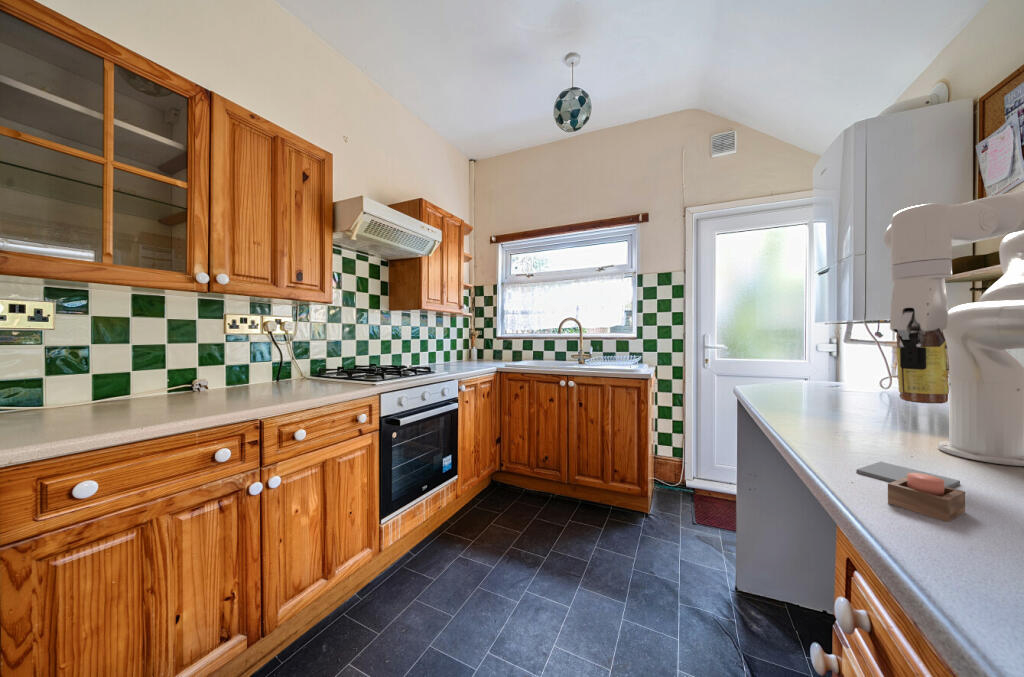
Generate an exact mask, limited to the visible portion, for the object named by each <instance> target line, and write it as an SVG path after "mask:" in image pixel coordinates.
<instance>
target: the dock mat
mask: <svg viewBox="0 0 1024 677" xmlns="http://www.w3.org/2000/svg"><path fill="white" fill-rule="evenodd" d="M855 471H856V474H860V475H862V476H868V477H872V478H875V479H878V480H882V481H886V482H888V483H891V482H894V481H896V480H899V479H901V478H904V477H907V474H908V473H921V474H927V475H931V476H935V477H938V478H941V479H943V480H944V486H945V487H949V488H953V489H954V488H955V487H957V486H959V485H961V480H960V479H956V478H951V477H946V476H943V475H938V474H935V473H930V472H926V471H923V470H922V471H921V470H918V469H913V468H910V467H907V466H906V467H905V466H901V465H897V464H893V463H888V462H884V461H878V462H874V463H872V464H869V465H866V466H862V467H860V468H857V469H856V470H855Z"/></svg>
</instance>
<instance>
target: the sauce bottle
mask: <svg viewBox="0 0 1024 677" xmlns="http://www.w3.org/2000/svg"><path fill="white" fill-rule="evenodd" d="M911 330H920V329H911ZM942 333H943V331H942V332H941V330H940V329H939V328H938V329H937V330H933V331H930V332H926V333H925V338H924V344H923V347H922V348H926V369H923V370H920V369H903V368H901V367H900V345H899V344H900V338H899V333H896V348H895V349H896V364H897V365H896V366H897V380H898V381H897V382H898V393H899V398H900V399H901V400H903V401H906V402H911V403H917V404H945V403H948V402H949V376H948V375H949V372H948V359H947V358H948V354H947V345H946V340H945V337H944V334H942ZM916 338H918V335H916Z"/></svg>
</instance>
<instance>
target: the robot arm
mask: <svg viewBox="0 0 1024 677" xmlns="http://www.w3.org/2000/svg"><path fill="white" fill-rule="evenodd" d="M883 237H884V238H883V241H884V244H885V247H886V248H887V249H888V250H889V251H890V257H891V258H890V262H891V263H890V265H891V266H890V267H891V268H890V269H891V271H890V272H891V274H890V275H891V280H890V282H891V284H893V287H892V292H891V300H890V301H891V302H890V318H889V319H890V320H889V330H890V331H891V332H893V333H896V334H897V333H899V338H900V344H899V345H900V367H901V368H903V369H920V370H923V369H926V348H922V347H923V344H924V338H925V333H926V332H930V331H933V330H937V329H938V328H939V329H940V330H941V332H942V334H943V336H944V338H945V340H946V351H947V358H948V375H949V376H948V388H949V393H948V426H949V427H948V439H949V440H944V441H943V440H942V441H939V442H938V443H937V448H938V449H939V450H940V451H942V452H944V453H947V454H950V455H953V456H956V457H960V458H965V459H969V460H972V461H973V460H974V461H979V462H984V463H990V464H998V465H1006V466H1016V467H1024V366H1023V365H1022V363H1020V361H1018V360H1017V359H1016V358H1015V357H1014V356H1013V355H1012V354H1010V352H1008V351H1007V350H1024V189H1021V190H1017V191H1011V192H1006V193H1002V194H996V195H995V194H994V195H990V196H986V197H983V198H979V199H974V200H971V201H968V202H963V203H958V204H947V203H943V202H934V203H933V202H932V203H925V204H920V205H915V206H910V207H907V208H906V207H905V208H904V209H901V210H899V211H897V212H895V213H894V214H893V215H892V217H891V218H890V224H889V226H888V227H887V228H886V230H885V232H884V236H883ZM1000 237H1003V239H1002V240H1001V241H1000V244H999V249H998V254H999V263H1000V268H1001V272H1002V274H1003V275H1002V276H1001V277H1000V278H999V279H997V281H995V282H994V283H993V284H992V285H990V286H989V287H988V288H987V289H985V291H984V292H983V293H982V294H981V295H980V298H979V299H978V301H977V302H976V301H975V302H969V303H964V304H959V305H957V306H954V307H952V308H950V309H949V308H948V294H947V286H946V279H947V280H948V279H951V278H952V279H953V258H952V257H953V254H952V253H953V247H957V246H961V245H962V246H964V245H968V244H972V243H977V242H980V241H985V240H991V239H996V238H997V239H998V238H1000ZM948 309H949V310H948ZM911 329H920V330H911ZM916 335H918V338H916Z"/></svg>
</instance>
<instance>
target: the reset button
mask: <svg viewBox="0 0 1024 677" xmlns="http://www.w3.org/2000/svg"><path fill="white" fill-rule="evenodd" d="M907 487H908V488H911V489H915V490H919V491H922V492H926V493H930V494H933V495H937V496H941V497H942V496H944V480H943V479H941V478H938V477H935V476H931V475H927V474H921V473H908V474H907Z"/></svg>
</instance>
